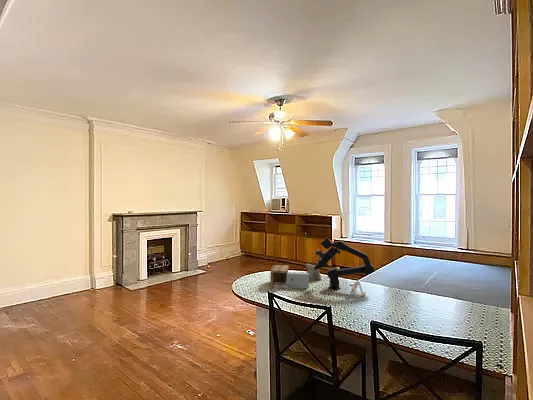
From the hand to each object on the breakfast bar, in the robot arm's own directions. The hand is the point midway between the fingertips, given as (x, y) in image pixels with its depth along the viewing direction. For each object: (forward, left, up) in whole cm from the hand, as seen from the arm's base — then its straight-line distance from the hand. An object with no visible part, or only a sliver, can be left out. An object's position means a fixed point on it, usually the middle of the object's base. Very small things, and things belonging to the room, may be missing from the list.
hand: (314, 268), depth 229 cm
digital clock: (+21, -17, -14) cm, 30 cm away
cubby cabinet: (+19, +16, -14) cm, 29 cm away
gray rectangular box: (+8, +9, -14) cm, 18 cm away
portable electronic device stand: (-28, -13, -14) cm, 34 cm away
